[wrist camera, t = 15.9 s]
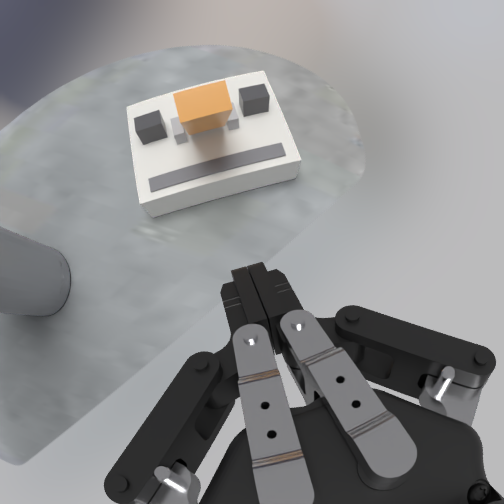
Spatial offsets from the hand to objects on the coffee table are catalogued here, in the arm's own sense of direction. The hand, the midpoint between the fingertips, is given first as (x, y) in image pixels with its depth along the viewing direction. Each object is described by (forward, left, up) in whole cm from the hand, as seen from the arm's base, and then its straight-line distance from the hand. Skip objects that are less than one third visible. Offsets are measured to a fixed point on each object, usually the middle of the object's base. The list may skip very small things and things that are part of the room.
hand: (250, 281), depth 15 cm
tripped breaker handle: (-3, +19, -15) cm, 25 cm away
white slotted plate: (-3, +19, -21) cm, 29 cm away
